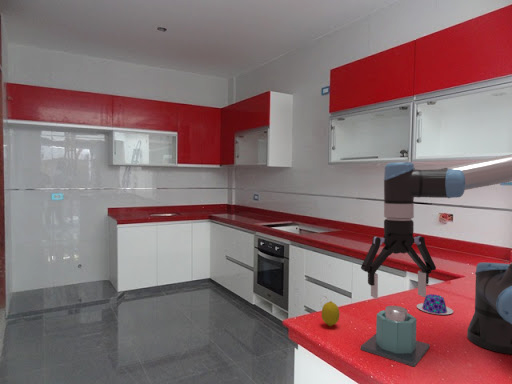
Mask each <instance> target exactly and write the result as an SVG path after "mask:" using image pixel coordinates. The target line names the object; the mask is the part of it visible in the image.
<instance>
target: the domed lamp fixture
mask: <svg viewBox="0 0 512 384" xmlns="http://www.w3.org/2000/svg"><path fill="white" fill-rule="evenodd" d="M407 313H408V309H407V308H405V307H403V306H398V305H387V306H385V318H386V319H390V320H394V321H407ZM430 346H431V345H430V343H426V342H423V341H420V340H419V341H418V340H416V348H415V350H414V351H413V352H412V353H398V354H397V353H394V352H390V351H387V350H384V349H382V348H381V347H380V346H379V345H378V344H377V343H376V333H375V334H374V335H372V336H371V337H370V338H369V339H367V340H366V341H365V342H364V343H362V344H361V345H360V351H364V352H367V353H371V354H373V355H376V356H380V357H383V358H385V359H389V360H392V361H394V362H398V363H401V364H404V365H406V366H411V367H413V368H414V367H416V366H417V364H418V363H419V362H420V361H421V360H422V359H423V357H424V355H425V354H426V353H427V352H428V351H429V349H430Z"/></svg>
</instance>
